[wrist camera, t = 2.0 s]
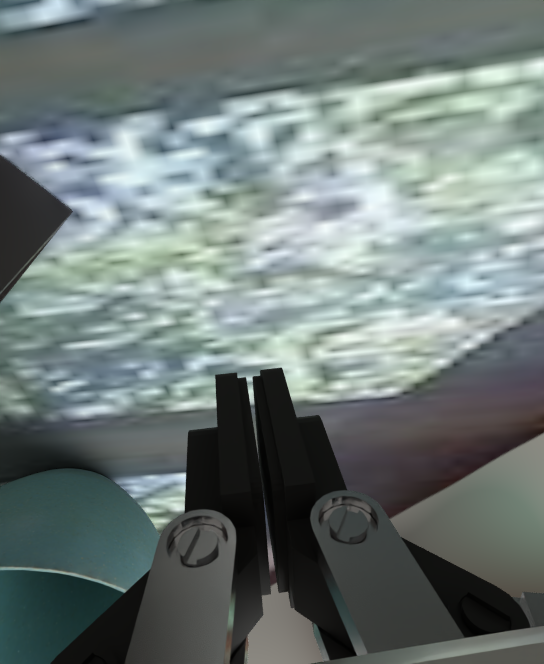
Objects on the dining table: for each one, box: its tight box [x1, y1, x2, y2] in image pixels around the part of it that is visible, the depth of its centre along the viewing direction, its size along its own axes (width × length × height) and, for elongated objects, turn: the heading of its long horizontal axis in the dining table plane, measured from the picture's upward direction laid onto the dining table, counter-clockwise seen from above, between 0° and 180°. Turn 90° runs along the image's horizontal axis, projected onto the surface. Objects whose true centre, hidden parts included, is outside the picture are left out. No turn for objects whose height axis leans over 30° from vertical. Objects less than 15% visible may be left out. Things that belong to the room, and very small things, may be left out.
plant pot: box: [0, 468, 160, 664], centre depth 32 cm, size 18×18×12 cm
